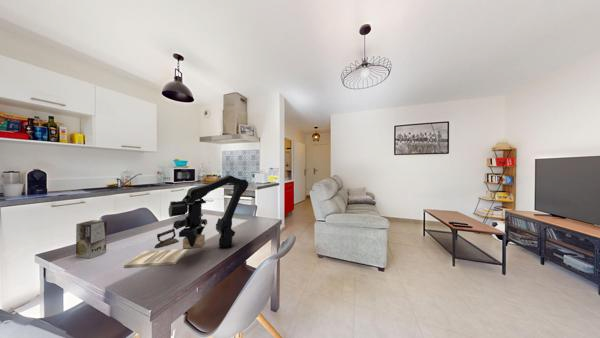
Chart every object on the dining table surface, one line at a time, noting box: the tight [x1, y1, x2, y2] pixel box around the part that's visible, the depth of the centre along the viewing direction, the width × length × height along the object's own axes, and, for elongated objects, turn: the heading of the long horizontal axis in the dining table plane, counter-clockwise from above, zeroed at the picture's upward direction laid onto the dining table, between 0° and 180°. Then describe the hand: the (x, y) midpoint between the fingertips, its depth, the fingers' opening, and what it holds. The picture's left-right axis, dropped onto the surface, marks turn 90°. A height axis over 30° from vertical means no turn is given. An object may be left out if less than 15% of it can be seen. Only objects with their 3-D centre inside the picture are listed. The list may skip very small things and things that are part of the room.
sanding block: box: [182, 233, 206, 250], centre depth 87 cm, size 8×5×5 cm, turn 101°
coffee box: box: [75, 219, 108, 259], centre depth 86 cm, size 9×6×16 cm
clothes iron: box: [154, 227, 180, 249], centre depth 99 cm, size 7×11×10 cm, turn 161°
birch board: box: [123, 248, 189, 269], centre depth 84 cm, size 20×13×1 cm, turn 101°
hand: (194, 244), depth 87 cm, fingers closed on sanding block, 5 cm apart
